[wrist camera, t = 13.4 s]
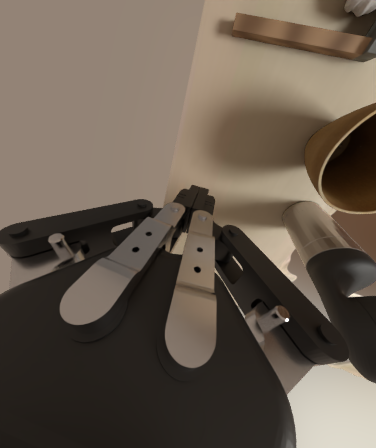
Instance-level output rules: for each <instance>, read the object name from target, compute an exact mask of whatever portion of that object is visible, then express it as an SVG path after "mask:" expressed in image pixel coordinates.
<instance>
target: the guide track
mask: <svg viewBox="0 0 376 448" xmlns="http://www.w3.org/2000/svg"><path fill="white" fill-rule="evenodd" d="M232 36H235V37H240V38H245V39H250V40H255V41H260V42H265V43H270V44H275V45H280V46H285V47H290V48H295V49H300V50H306V51H311V52H316V53H321V54H326V55H331V56H336V57H341V58H346V59H351V60H356V61H361V62H366V61H368V60H371V59H373V58H376V20H375V22H374V24H373V25H372V27H371V28H370V30H369V32H368V33H367V35H366V37H365V36H359V35H354V34H349V33H343V32H338V31H333V30H327V29H322V28H316V27H311V26H306V25H300V24H295V23H290V22H284V21H279V20H273V19H268V18H263V17H257V16H252V15H247V14H241V13H236V17H235V21H234V25H233V30H232Z"/></svg>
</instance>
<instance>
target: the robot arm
mask: <svg viewBox="0 0 376 448" xmlns="http://www.w3.org/2000/svg"><path fill="white" fill-rule="evenodd" d="M208 191H209V189H205V188H202V187H201V188H200V187H198V186H195V185H192V186H191V187H190V189H189V190H188V189H183V190H181V191H180V192H179V194H178V195H177V197H176V198H175V200H174V201H173V203H168V204H166V205H165V206H164V208H153V204H152V203H151V202H150V201H148V200H144V199H138V200H133V201H128V202H123V203H118V204H113V205H108V206H102V207H98V208H93V209H87V210H82V211H77V212H72V213H67V214H62V215H57V216H52V217H46V218H41V219H36V220H32V221H26V222H21V223H16V224H13V225H10V226H8V227H5V228H4V229H2V230H1V231H0V246H1V247H2V248H3V249H4V250H5V251H6V252H7V255H8V256H9V257H10V258H11V259H12V262H11V275H10V289H9V290H7V291H5V292H4V293H2V294H0V448H296V432H295V424H294V419H293V414H292V410H291V406H290V403H289V400H288V397H287V394H288V393H289V392H290V391H291V390H292V389H293V387H294V386H295V385H296V384H297V383H298V382H299V381H300V380H301V379H302V378H303V377H304V376H305V375H306V374H307V372H308V371H309V370H310V369H311V368H312V367H313V366H318V365H325V364H331V363H337V362H343V361H346V360H347V359H348V358H349V360H350V362H351V363H352V364H353V366H354V367H355V368H356V369H357V370H358V372H359V373H360V374H361V375H362V376H364V377H365V378H366V379H368V380H369V381H371V382H374V383H376V296H366V297H348V296H350V295H351V294H352V293H354V292H356V291H358V290H361V289H363V288H365V287H367V286H369V285H371V284H372V283H374V282H375V281H376V263H375V262H374V260H373V259H372V258H371V257H370V256H369V255H368V254H367V253H366V252H365V251H364V250H363V249H362V248H361V247H360V246H359V245H358V244H357V243H356V242H355V241H354V240H353V239H352V238H351V237H350V236H349V235H348V234H347V233H346V232H345V231H344V230H343V229H342V228H341V227H340V226H339V225H338V223H337V222H336V221H335V220H334V219H333V218H332V217H331V216H330V215H329V214H328V213H327V212H326V211H324V210H323V209H322V208H321V207H320V206H319V205H318V204H316V203H314V202H308V201H306V202H299V203H296V204H294V205H292V206H290V207H289V208H288V209H287V210H286V211H285V212H284V214H283V217H282V220H283V223H284V225H285V227H286V229H287V231H288V233H289V235H290V237H291V239H292V241H293V243H294V245H295V247H296V249H297V251H298V253H299V255H300V257H301V259H302V261H303V263H304V265H305V267H306V269H307V271H308V274H309V275H310V277H311V279H312V281H313V283H314V285H315V287H316V289H317V291H318V293H319V295H320V297H321V300H322V302H323V304H324V307H325V309H326V312H327V314H328V316H329V319H330V321H331V322H330V321H328V319H327V318H326V317H325V316H324V315H323V314H322V313H321V312H320V311H319V310H318V309H317V308H316V307H315V306H314V305H313V304H312V303H311V302H310V301H309V300H308V299H307V298H306V297H305V296H304V295H303V294H302V293H301V291H300V290H299V289H298V288H297V287H296V286H295V285H294V284H293V283H292V282H291V281H290V280H289V279H288V278H287V277H286V276H285V275H284V274H283V273H282V272H281V271H280V270H279V269H278V268H277V267H276V266H275V265H274V264H273V263H272V262H271V261H270V259H269V258H268V257H267V256H266V255H265V254H264V253H263V252H262V251H261V250H260V249H259V248H258V247H257V246H256V245H255V244H254V243H253V242H252V241H251V240H250V239H249V238H248V237H247V236H246V235H245V234H244V233H243V232H242V231H241V230H240V229H239V228H237V227H235V226H232V225H226V226H224V227H223V228H222V227H220V226H219V225H217V224H216V223H215V222H214V221H213V217H212V215H213V209H214V204H215V199H214V197H213V196H209V195H208ZM128 222H132V225H133V227H130V228H126V229H123V230H120V231H116V232H113V233H111V230H112V228H113V227H115V226H117V225H121V224H125V223H128ZM186 230H187V231H186ZM182 232H184V233H185V232H186V233H188V235H187V239H186V243H185V247H184V251H183V255H179V254H172V252H173V250H174V248H175V246H176V244H177V242H178V241H179V238H180V235H181V233H182ZM233 256H234V257H235V258H236V259H237V261H238V262H239V263H240V265H241V266H242V268H243V271H242V269H241V268H240V267H239V265H238V264H237V263H236V262H235V260H234V259H233V258H232V257H233ZM215 268H216V270H217V272H218V273H219V275H220V276H221V278H222V280H223V281H224V283H225V284H226V286H227V288H228V289H229V291H230V292H231V294H232V295H233V297H234V299H235V300H236V302H237V303H238V305H239V307H240V308H241V310H242V311H243V313H244V315H245V319H244V317H243V316H242V314H241V312H240V310H239V309H238V307H237V305H236V304H235V302H234V300H233V298H232V297H231V295H230V293H229V292H228V290H227V288H226V286H225V285H224V283H223V281H222V280H221V279H220V277H219V276H218V275H217V274H216V273H215V272H214V270H215Z"/></svg>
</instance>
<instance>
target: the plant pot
mask: <svg viewBox="0 0 376 448" xmlns="http://www.w3.org/2000/svg"><path fill="white" fill-rule="evenodd" d="M339 145H341V146H340V147H339ZM304 159H305V166H306V170H307V173H308V175H309V178H310V180H311V182H312V184H313V186H314V187H315V189H316V191H317V192H318V194H319V195H320V196H321V198H322V199H323V200H324V202H325V203H326V204H328V205H329V206H330V207H332V208H334V209H336V210H339V211H341V212H346V213H351V214H369V213H376V103H374V104H371V105H368V106H366V107H363V108H361V109H358V110H356V111H354V112H351V113H349V114H347V115H345V116H343V117H341V118H339V119H337V120H335V121H333V122H331V123H329V124H328V125H326V126H325V127H323V128H322V129H320V130H319V131H318V132H316V133H315V134H314V135H313V136H312V137H311V138H310V140H309V141H308V143H307V145H306V147H305V153H304Z"/></svg>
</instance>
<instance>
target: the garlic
mask: <svg viewBox="0 0 376 448" xmlns="http://www.w3.org/2000/svg"><path fill="white" fill-rule="evenodd" d="M344 9H345V11H346V12H350V11H352V12H353V13H354V14H355V15H356V17H359V16H361V15H365V14H368V13H370V12H372V11H373V10H375V9H376V0H347V2H346V4H345V6H344Z"/></svg>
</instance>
